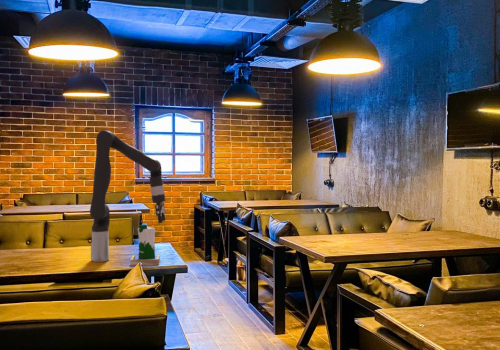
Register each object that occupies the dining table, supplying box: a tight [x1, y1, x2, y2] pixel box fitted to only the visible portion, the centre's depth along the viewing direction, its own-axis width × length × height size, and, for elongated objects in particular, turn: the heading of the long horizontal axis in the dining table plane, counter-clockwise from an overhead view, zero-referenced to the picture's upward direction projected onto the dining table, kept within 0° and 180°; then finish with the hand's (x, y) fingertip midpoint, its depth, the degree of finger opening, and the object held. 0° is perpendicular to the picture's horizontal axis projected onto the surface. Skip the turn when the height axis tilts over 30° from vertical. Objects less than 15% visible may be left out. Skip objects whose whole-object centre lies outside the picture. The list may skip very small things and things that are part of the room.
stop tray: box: [129, 253, 161, 267], centre depth 279 cm, size 15×15×3 cm
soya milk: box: [137, 224, 156, 260], centre depth 291 cm, size 9×9×20 cm
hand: (162, 221), depth 283 cm, fingers open, 8 cm apart
